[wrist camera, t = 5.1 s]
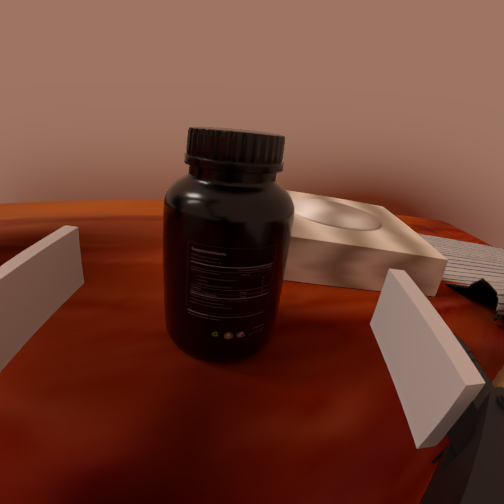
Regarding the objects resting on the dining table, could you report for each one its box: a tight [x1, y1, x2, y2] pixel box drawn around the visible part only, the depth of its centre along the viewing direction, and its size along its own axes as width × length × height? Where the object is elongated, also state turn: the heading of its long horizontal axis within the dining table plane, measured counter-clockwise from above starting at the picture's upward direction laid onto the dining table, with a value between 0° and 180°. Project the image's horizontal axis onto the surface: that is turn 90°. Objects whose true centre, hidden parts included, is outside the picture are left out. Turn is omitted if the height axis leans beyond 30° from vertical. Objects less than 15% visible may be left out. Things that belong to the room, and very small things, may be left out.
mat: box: [418, 234, 504, 321], centre depth 31 cm, size 23×24×5 cm
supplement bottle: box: [163, 127, 295, 362], centre depth 17 cm, size 7×7×12 cm
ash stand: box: [283, 190, 448, 297], centre depth 35 cm, size 20×20×4 cm
